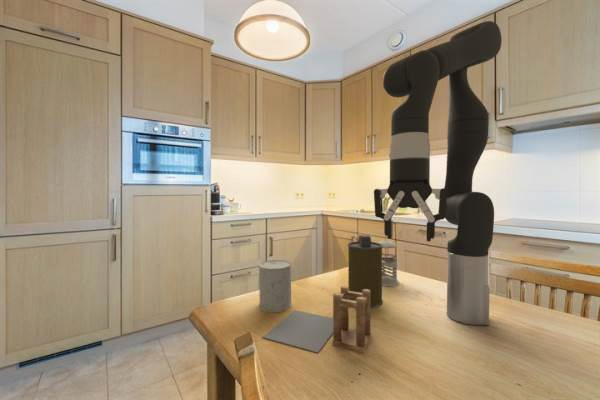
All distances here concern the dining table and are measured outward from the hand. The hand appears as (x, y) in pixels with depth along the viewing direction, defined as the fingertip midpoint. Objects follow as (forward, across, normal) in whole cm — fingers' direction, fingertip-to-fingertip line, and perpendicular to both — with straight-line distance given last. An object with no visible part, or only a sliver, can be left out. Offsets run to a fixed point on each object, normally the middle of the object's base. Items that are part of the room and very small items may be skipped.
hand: (408, 239), depth 57 cm
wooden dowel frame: (+24, +12, 0) cm, 27 cm away
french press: (+24, +13, -44) cm, 52 cm away
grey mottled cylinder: (+24, +38, -9) cm, 46 cm away
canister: (+24, +15, -24) cm, 37 cm away
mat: (+24, +24, 0) cm, 34 cm away
